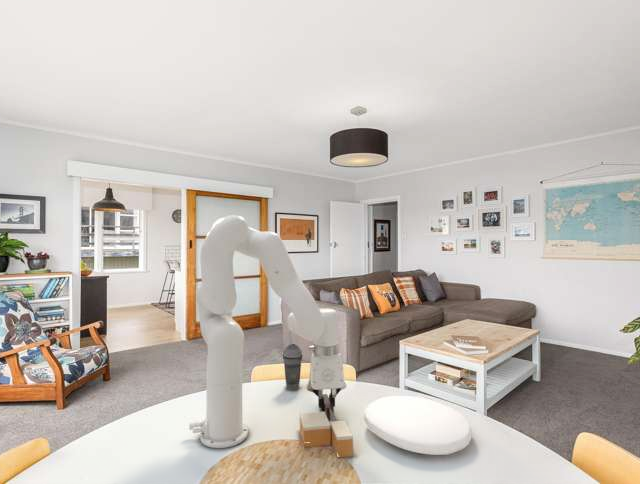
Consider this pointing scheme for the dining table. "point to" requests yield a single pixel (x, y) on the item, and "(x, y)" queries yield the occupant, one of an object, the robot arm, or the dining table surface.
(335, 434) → the cake slice
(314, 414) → the cake
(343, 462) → the dining table surface
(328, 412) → the knife
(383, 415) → the white round disc
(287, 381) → the beverage cup
